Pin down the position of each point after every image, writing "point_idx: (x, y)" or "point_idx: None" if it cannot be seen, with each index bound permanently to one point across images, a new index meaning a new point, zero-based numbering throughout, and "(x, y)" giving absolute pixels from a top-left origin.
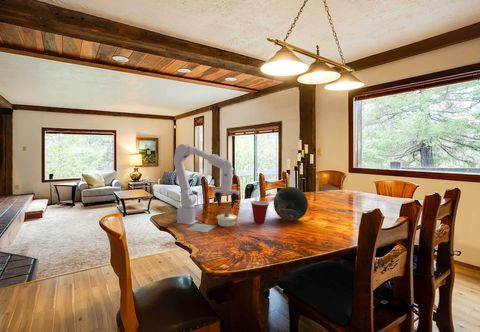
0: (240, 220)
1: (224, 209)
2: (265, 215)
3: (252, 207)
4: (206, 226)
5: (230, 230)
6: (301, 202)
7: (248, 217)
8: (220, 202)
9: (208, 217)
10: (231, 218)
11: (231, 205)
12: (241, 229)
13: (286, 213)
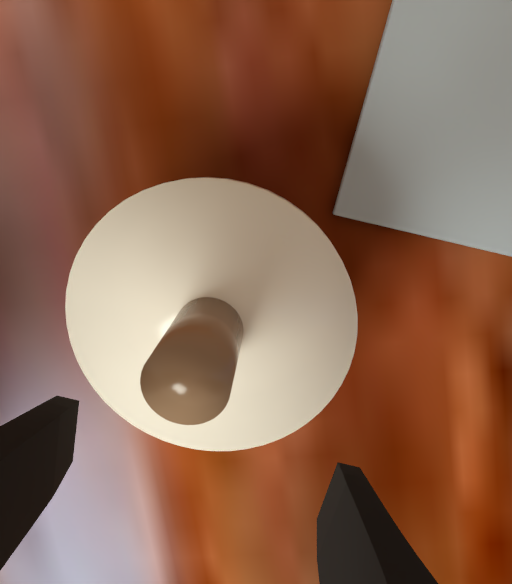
0: (113, 463)
1: (225, 368)
2: None
3: None
4: (459, 163)
5: (141, 71)
6: None
7: (61, 558)
8: (332, 574)
9: (457, 540)
10: (114, 218)
11: (50, 417)
12: (25, 134)
13: None
